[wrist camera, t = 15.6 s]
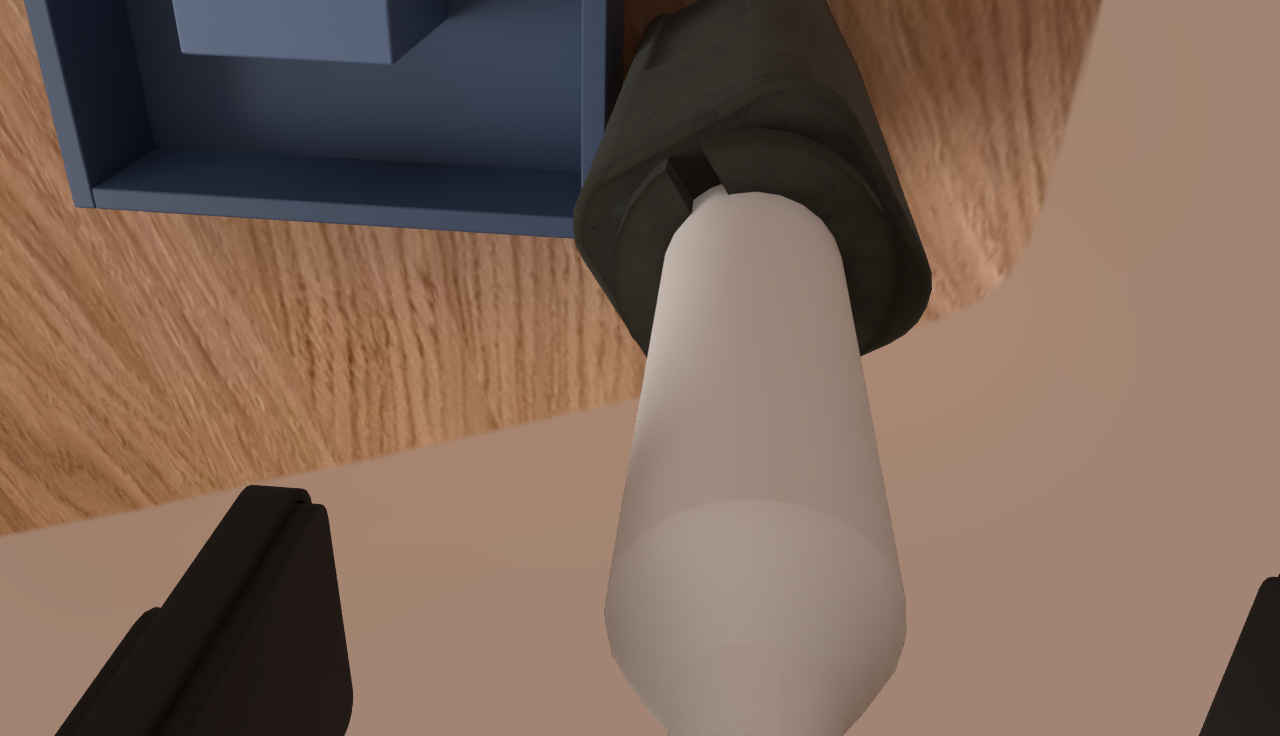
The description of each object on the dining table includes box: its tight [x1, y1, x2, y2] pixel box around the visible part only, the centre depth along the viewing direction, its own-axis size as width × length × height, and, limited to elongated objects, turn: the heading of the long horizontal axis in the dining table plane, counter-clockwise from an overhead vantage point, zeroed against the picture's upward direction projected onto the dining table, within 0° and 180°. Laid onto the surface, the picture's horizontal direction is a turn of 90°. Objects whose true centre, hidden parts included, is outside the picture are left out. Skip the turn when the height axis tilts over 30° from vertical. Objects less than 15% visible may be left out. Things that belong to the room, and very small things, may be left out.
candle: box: [572, 0, 932, 736], centre depth 18 cm, size 5×5×25 cm
